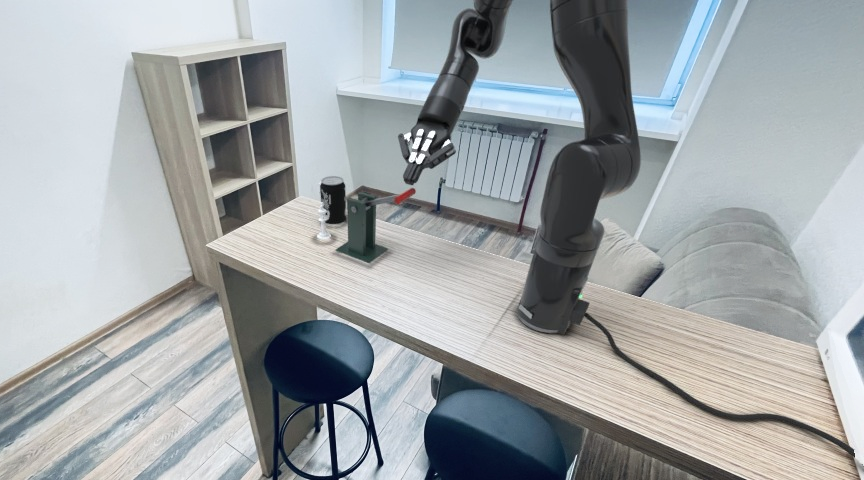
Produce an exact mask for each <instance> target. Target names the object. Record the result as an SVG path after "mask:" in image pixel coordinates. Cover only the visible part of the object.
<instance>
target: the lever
mask: <svg viewBox="0 0 864 480" xmlns="http://www.w3.org/2000/svg"><path fill="white" fill-rule="evenodd" d="M416 193H417V191H416V188H415V187H411V188H409V189H407V190H405V191H404V192H402V193H399V194H393V195H389V196H383V197H380V198H376V199H375V200H370V201H369V200H368V198H363V199H358V198H357V200H360V201H363V202H366V210H368V209H369V208H371V206H373V205H376V206H377V205H382V204H387V203H393V202H394V203H395V204H397V205H400V204H401V203H403V202H405V201H406V200H408V199H410V198H411V197H412V196H414V195H415V194H416Z"/></svg>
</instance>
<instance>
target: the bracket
mask: <svg viewBox="0 0 864 480" xmlns="http://www.w3.org/2000/svg"><path fill="white" fill-rule="evenodd" d="M363 198H368V200H369V201H370V200H375V199H377V195H373V194H370V193H366V192H363V191H359V192H358V193H357V198H353V197H348V198H346V220H347V242H345V243H343V244H342V245H340V246H339V247H337V248H336V249H334V250H335V251H336V252H338V253H341V254H343V255H345V256H349V257H351V258H354V259H357V260H359V261H362V262H364V263H367V264H370V263H372V262H373V261H375V260H376V259H377V258H379V257H380V256H381V255H383V254H385V252H387V251H388V250H389V248H388V247H385V246H382V245H379V244H377V243H376V237H377V236H376V235H377V234H376V230H377V205H373V206H371V208H369V209H368V210H366V202H363V201H360V200H358V199H363Z"/></svg>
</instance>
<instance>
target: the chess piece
mask: <svg viewBox="0 0 864 480" xmlns="http://www.w3.org/2000/svg"><path fill="white" fill-rule="evenodd" d="M323 206H324V204H323V202H321V201H320V205H319V209H317V212H318V215H319V217H318V219H317V220H318V221H319V222H320V232H319V233H317V235H316V237H317V238H318V239H319V240H327V239H330V238H331V236H332V235H331V233H329V232H328V231H327V230H328V229H327V225H326V223H325V221H326V220H327V218H326V217H325V214H326V209H324V208H323Z"/></svg>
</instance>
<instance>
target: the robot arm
mask: <svg viewBox="0 0 864 480" xmlns="http://www.w3.org/2000/svg"><path fill="white" fill-rule="evenodd" d="M514 1H515V0H473V3H472V4H473V7H474V8H471V7H469V8H465V9H463V10H461V11H460V12H459V13H458V14H457V15H456V17H455V18H454V20H453V24H452V27H451V31H450V39H449V46H448V51H447V55H446V58H445V61H444V63H443V66H442V68H441V70H440V72H439V74H438V77H437V79H436V81H435V82H434V84H433V85H432V87H431V88H430V91H429V92H428V94H427V97H426V99H425V101H424V104H423V106H422V107H421V110H420V111H419V115H418V116H417V121H416V124H415V125H414V126H412V128H411V129H410V131H409V132H408V133H406V134H404V133H399V134H398V135H397V139H398V143H399V147H400V152H401V156H402V158H403V160H404V161H405V162H406V164H407V166H406V168H405V170H404V172H403V174H402V179H403V182H404V183H405V185H409V186H414V185H415V184H417V183H418V181H419V180H420V177H421V175H422V173H423V171H424V170H425V169H430V170H433V169H434V168H436V167H437V166H439V165H441V164H442V163H443V162H445V161H446V160H448V159H449V158H451V157H453V156H454V155H455V154H456V153H457V150H456V148H455V145H454V143H453V142H451V139H452V137H451V135H452V133H453V132H454V129H455V127H456V125H457V123H458V121H459V119H460V117H461V114H462V112H463V111H464V109H465V106H466V103H467V100H468V98H469V97H468V96H469V94H470V92H471V89H472V88H473V85H474V83H475V81H476V78H477V76H478V74H479V71H480V64H479V61H478V60H477V59H476V58H475V57H477V58H479V59H483V60H487V59H490V58H491V57H493V56H495V55H496V54H497V53H498V51H499V50H500V48H501V46H502V44H503V41H504V37H505V33H506V25H507V20H508V15H509V13H510V9H511V7H512V5H513V2H514ZM549 17H550V19H549V20H550V28H551V29H550V30H551V41H552V49H553V53H554V56H555V60H556V61H557V63H558V66H559V68H560V69H561V71H562V73H563V75H564V76H565V79H566V80H567V81H568V83H569V85H570V86H571V88H572V90H573V91H574V93H575V95H576V98H577V100H578V102H579V105H580V109H581V114H582V121H583V122H582V123H583V134H584V135H583V136H584V137H583V138H584V139H583V138H582V139H578V140H575V141H571V142H569V143H567V144H565V145H563V146H562V147H561V148H560V149H559V150H558V151H557V152H556V154H555V156H554V157H553V159H552V161H551V164H550V167H549V171H548V174H547V178H546V181H545V186H544V191H543V196H542V201H541V205H540V211H539V217H540V229H539V233H538V237H537V240H536V244H535V247H534V251H533V254H532V258H531V261H530V264H529V268H528V272H527V275H526V278H525V282H524V285H523V289H522V293H521V296H520V300H519V303H518V306H517V309H516V315H517V318H518V319H519V321H520V322H521V323H522V324H524V325H525V326H526V327H528V328H529V329H532V330H534V331H537V332H540V333H544V334H559V335H562V336H564V335H565V334H566V333H567V330H568V329H569V327H570V325H571V323H572V324H575V325H578V326H581V324H582V322H583V320H584V318H585V319H587V320H588V321H589V322H591V323H592V324H593V325H594V326H596V327H597V328H598V329H599V330H600V331H601V332H602V333H603V334H604V335H605V337H606V338H607V340H608V343H609V345H610V347H611V349H612V351H614V352H615V353H616V354H617V355H618V356H619V357H620V358H621V359H622V360H624V361H625V362H627V363H628V364H630V365H631V366H633V367H634V368H636V369H638V370H639V371H641V372H643V373H645V374H647V375H648V376H650V377H652V378H653V379H656V380H657V381H659V382H660V383H662V384H663V385H665V386H667V387H668V388H670V389H671V390H672V391H674V392H675V393H677V394H678V395H679V396H681V397H682V398H684V399H685V400H687V401H688V402H690V403H692V404H693V405H695V406H696V407H698V408H700V409H702V410H704V411H705V412H709V413H711V414H713V415H716V416H717V417H718V416H719V417H722V418H725V419H729V420H735V421H758V420H774V421H779V422H784V423H786V424H789V425H792V426H795V427H797V428H800V429H802V430H805V431H807V432H810V433H812V434H814V435H816V436H819V437H821V438H823V439H825V440H826V441H829V442H831V443H833V444H834V445H836V446H837V447H839V448H841V449H842V450H843V451H845V452H847V454H849V455H850V456H851V457H853V458H854V459H855V453H854V450H855V448H853V447H852V446H851V445H849V444H847V443H845V441H843V440H840V439H839V438H837V437H835V436H833V435H831V434H829V433H827V432H825V431H823V430H821V429H819V428H816V427H813V426H812V425H809V424H808V423H804V422H801V421H799V420H796V419H794V418H791V417H788V416H786V415H785V416H784V415H780V414H775V413H747V414H737V413H730V412H726V411H723V410H721V409H720V410H719V409H717V408H714V407H712V406H710V405H707V404H705V403H704V402H702V401H700V400H698V399H697V398H695V397H693V396H692V395H690V394H689V393H687V392H686V391H685V390H683V389H682V388H680V387H679V386H677V385H675V384H674V383H673V382H672V381H670V380H668V379H666V378H665V377H664V376H662V375H660V374H658V373H656V372H655V371H653V370H651V369H650V368H647V367H645V366H644V365H642V364H640V363H638V362H637V361H635V360H633V359H632V358H630V357H628V355H627V354H625V353H624V352H623V351H622V350H621V349H620V348H619V347H618V346H617V345H616V343H615V340H614V337H613V335H612V333H610V331H609V330H608V329H607V328H606V327H605V326H604V325H603V324H602V323H601V322H599V321H598V320H597V319H595V318H594V317H593V316H592V315H590V314H589V313H588V312H587V311H588V309H589V306H590V304H591V303H590V302H589V301H586V300H584V299H583V300H582V298H583V293H584V290H585V288H586V285H587V283H588V279H589V274H590V271H591V269H592V266H593V264H594V262H595V259H596V256H597V254H598V251H599V248H600V246H601V243H602V241H603V238H604V236H605V231H606V229H605V226H604V224H603V223H602V222H601V221H599V219H597V218H595V217H596V214H597V209H598V207H599V203H600V200H604V199H607V198H612V197H615V196H618V195H621V194H622V193H625V192H626V191H628V190H629V189H630V188H631V187H632V186H633V185H634V184H635V183H636V181H637V179H638V177H639V174H640V171H641V166H642V151H641V150H642V149H641V144H640V137H639V131H638V125H637V119H636V113H635V108H634V107H635V106H634V101H633V92H632V77H631V75H632V74H631V59H630V58H631V57H630V56H631V55H630V44H629V2H628V0H549ZM474 56H475V57H474ZM411 143H412V147H411V151H410V146H411Z"/></svg>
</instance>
